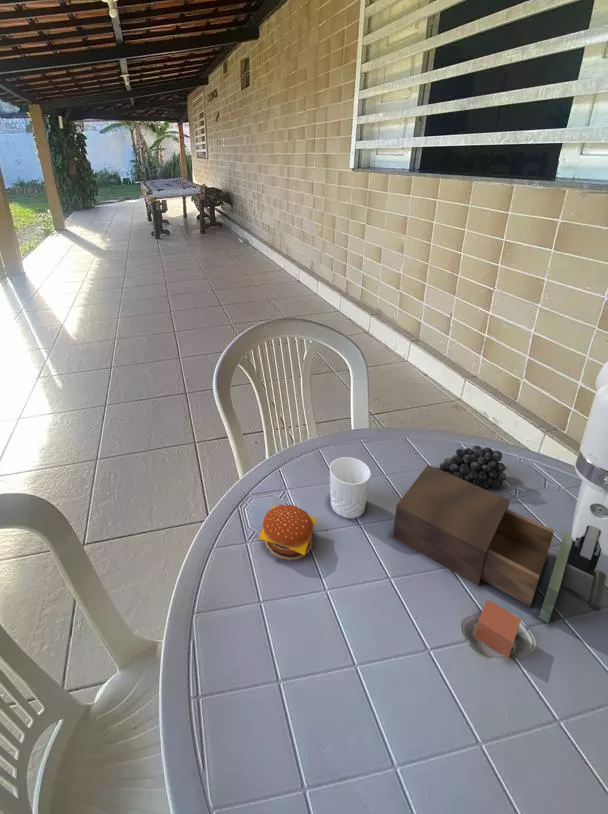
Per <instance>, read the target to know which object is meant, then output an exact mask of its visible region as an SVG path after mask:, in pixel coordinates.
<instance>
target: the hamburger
mask: <svg viewBox="0 0 608 814" xmlns="http://www.w3.org/2000/svg"><path fill="white" fill-rule="evenodd" d="M317 520H318V519H317V518H316V517H314V516H312V515H309V514H308V512H307V511H306V510H304V509H302V508H300V507H298V506H296V505H295V504H279V505H273V506H272V507H271V509H269V510H268V511H267V512H266V514H265V516H264V517H263V520H262V529H261V531H260V533H259V536H258V540H260V541H264V542H265V546H266V548H267V550H268V551H269V552H270V553H271V554H272V555H273V556H275V557H277V558H278V559H280V560H284V561H285V560H286V561H296V560H300V559H302V558H304V557H306V556H307V555H308V554H309V552H310V551H311V549H312V547H313V546H312V545H313V531H314V528H315V525H316V522H317Z"/></svg>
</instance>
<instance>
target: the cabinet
mask: <svg viewBox="0 0 608 814" xmlns="http://www.w3.org/2000/svg"><path fill="white" fill-rule="evenodd" d="M437 468H438V467H435V466H432V465H430V464H427V465H426V466H425V467H424V468H423V470H422V471H421V473H420V474H419V475H418V476H417V478H416V479H415V480H414V482H413V483H412V484H411V486H410V487H409V488H408V490H407V491H406V493H405V494H404V495H403V496H402V498H401V499H400V500H399V501H398V503H397V504H396V507H395V515H394V524H393V532H392V537H393V538H395V539H396V540H397V541H400V542H401V543H403V544H405V545H406V546H408V547H410V548H411V549H413V550H415V551H417V552H418V553H420V554H422V555H423V556H425V557H427V558H428V559H431V560H432V561H434V562H436V563H438V564H439V565H441V566H442V567H444V568H446V569H448V570H449V571H451V572H453V573H455V574H456V575H458V576H460V577H461V578H463V579H465V580H467V581H469V582H470V583H472V584H474V585H476V586H477V587H479V585H480V583H481V580H482V579H481V575H482V571H483V566H484V562H485V558H486V553H487V551H488V549H489V547H490V544H491V542H492V540H493V538H494V536H495V534H496V531H497V529H498V527H499V525H500V523H501V521H502V519H503V516H504V514H505V512H506V510H507V509H508V510H509V507H510V503H511V500H510V499H508V498H506V497H504V496H501V495H499V494H497V493H494V492H492V491H490V490H487V489H486V488H484V487H482V488H481V487H478V486H476V485H474V484H472V483H469V482H467V481H465V480H462V479H460V478H458V477H455V476H453V475H451V474H449V473H446V472H444V471H442V470H439V469H437Z"/></svg>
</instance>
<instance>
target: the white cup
mask: <svg viewBox="0 0 608 814" xmlns="http://www.w3.org/2000/svg"><path fill="white" fill-rule="evenodd" d="M371 473H372V472H371V468H370V467H369V466H368V465H367V464H366V462H363V460H360V459H358V458H355V457H350V456H343V457H337V458H336V459H334V460H333V461H331V462H330V464H329V496H330V506H331V508H332V510H333V512H335V513H336V514H337V515H338V516H341V517H344V518H346V519H356V518H359V517H362V515H363V514H364V513H365V510H366V503H367V501H368V495H369V489H370V481H371V476H372V475H371Z"/></svg>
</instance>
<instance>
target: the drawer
mask: <svg viewBox="0 0 608 814" xmlns="http://www.w3.org/2000/svg"><path fill="white" fill-rule="evenodd" d="M554 533H555V529H554V528H553V529H552V528H551V527H549V526H546V525H544V524H542V523H540V522H537V521H535V520H533V519H530V518H528V517H527V516H524V515H521V514H519V513H517V512H514V511H512V510H511V509H509V508H508V509H507V510H506V512H505V514H504V516H503V519H502V521H501V523H500V525H499V527H498V529H497V531H496V534H495V536H494V538H493V540H492V542H491V544H490V547H489V549H488V551H487V553H486V558H485V562H484V566H483V571H482V575H481V579H480V580H482V581H483V582H486V583H487V584H489V585H490V586H492V587H494V588H496V589H497V590H499V591H501V592H503V593H504V594H507V595H508V596H510V597H512V598H514V599H515V600H517V601H519V602H521V603H522V604H524V605H526V606H528V607H532V603H533V600H534V597H535V595H536V591H537V588H538V584H539V583H540V582H539V581H540V579H541V576H542V572H543V569H544V565H545V563H546V560H547V556H548V553H549V549H550V546H551V543H552V539H553V537H554ZM571 535H572V533H571V532H568V531H566V530H565V531H564V533H563V537H562V540H561V542H560V546H559V549H558V552H557V555H556V559H555V562H554V565H553V568H552V572H551V575H550V578H549V582H548V585H547V589H546V593H545V596H544V599H543V602H542V605H541V609H540V612H539V616H538V618H539V619H541V620H543V621H544V622H546V623H550V619H551V617H552V613H553V611H554V608H555V605H556V601H557V599H558V595H559V592H560V591H562V592H564V593H566V594H568V595H570V596H571V597H573V598H575V599H577V600H579V601H581V602H583V603H584V604H587V606H588V608H590V610H592V611H594V612H600V611H601V610H602V604H603V600H604V595H605V594H604V593H605V588H606V581H607V575H606V573H605V572H603V571H601V570H595V571H594V573H591V572H589V571H586V570H584V569H582V568H580V567H578V566H576V565H574V564H572V563H570V562H568V560H567V559H568V556H569V552H570V549H571V545H572V542H573V539H572V537H571ZM567 565H569V566H571V567H573V568H575V569H577V570H579V571H582V572H584V573H586V574H587V575H590V576H592V577H593V578H592V584H591V589H590V593H589V597H587V596H585V595H583V594H581V593H579V592H577V591H575V590H573V589H571V588H569V587H567V586H566V585H564V584H562V581H563V577H564V574H565V570H566V567H567Z"/></svg>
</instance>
